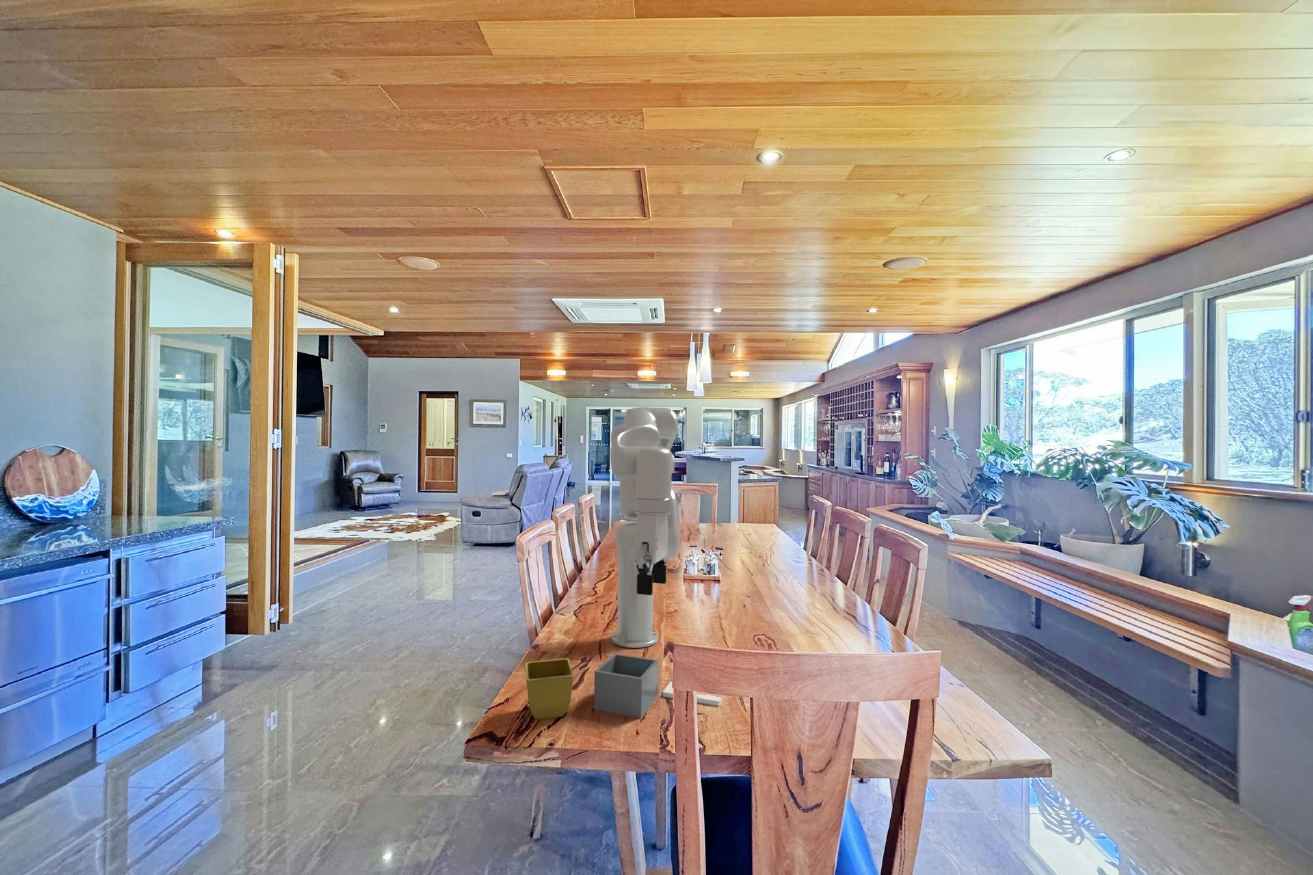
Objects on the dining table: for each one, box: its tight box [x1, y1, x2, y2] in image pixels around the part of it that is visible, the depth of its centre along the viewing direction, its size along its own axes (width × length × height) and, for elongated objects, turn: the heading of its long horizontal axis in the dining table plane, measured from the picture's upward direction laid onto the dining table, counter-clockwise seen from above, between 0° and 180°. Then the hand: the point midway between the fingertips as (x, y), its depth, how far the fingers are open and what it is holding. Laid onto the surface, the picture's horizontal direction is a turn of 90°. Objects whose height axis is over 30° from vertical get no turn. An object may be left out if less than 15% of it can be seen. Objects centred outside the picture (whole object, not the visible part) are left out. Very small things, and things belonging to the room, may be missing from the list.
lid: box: [662, 681, 725, 707], centre depth 118 cm, size 12×12×6 cm
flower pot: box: [524, 657, 574, 720], centre depth 108 cm, size 9×9×9 cm
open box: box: [593, 653, 660, 719], centre depth 112 cm, size 10×10×8 cm
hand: (652, 588), depth 115 cm, fingers open, 9 cm apart
